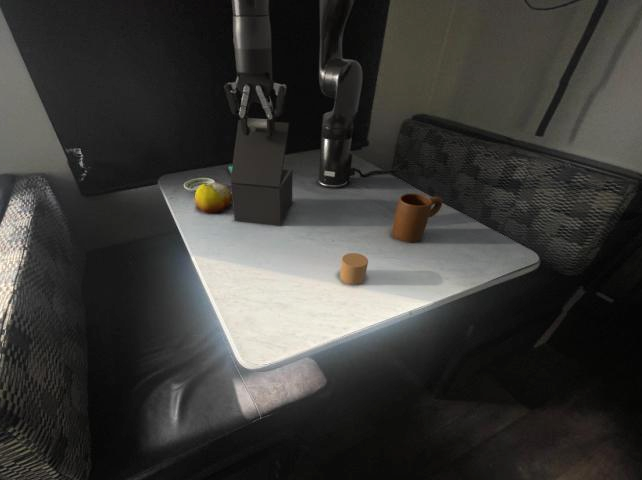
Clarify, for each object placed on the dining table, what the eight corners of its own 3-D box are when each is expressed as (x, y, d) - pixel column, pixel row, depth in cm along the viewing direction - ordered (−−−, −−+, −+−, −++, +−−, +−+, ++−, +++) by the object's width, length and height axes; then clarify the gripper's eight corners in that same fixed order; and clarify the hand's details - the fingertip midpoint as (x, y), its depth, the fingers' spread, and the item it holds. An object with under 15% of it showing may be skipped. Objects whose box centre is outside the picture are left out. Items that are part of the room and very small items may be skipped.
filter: (354, 267, 73) (357, 250, 70) (370, 280, 69) (373, 262, 66) (334, 274, 71) (336, 257, 68) (350, 287, 67) (352, 269, 64)
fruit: (238, 210, 93) (227, 184, 87) (204, 225, 93) (190, 200, 87) (232, 193, 101) (221, 169, 95) (200, 207, 101) (187, 183, 95)
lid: (239, 121, 83) (232, 110, 77) (289, 124, 80) (285, 112, 75) (231, 183, 83) (223, 176, 78) (280, 188, 81) (275, 180, 76)
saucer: (199, 182, 110) (198, 175, 108) (222, 188, 106) (221, 181, 104) (178, 192, 103) (176, 185, 102) (202, 199, 100) (200, 191, 98)
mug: (423, 223, 88) (433, 188, 82) (443, 236, 83) (455, 200, 77) (384, 231, 85) (392, 195, 79) (403, 245, 80) (413, 208, 74)
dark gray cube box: (251, 198, 100) (248, 165, 94) (292, 202, 98) (292, 169, 92) (234, 220, 89) (230, 184, 83) (280, 225, 87) (279, 189, 81)
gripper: (291, 44, 69) (291, 132, 80) (226, 43, 71) (235, 129, 83) (282, 47, 63) (284, 142, 75) (212, 46, 66) (224, 138, 77)
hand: (258, 134), depth 79 cm, fingers closed on lid, 5 cm apart
